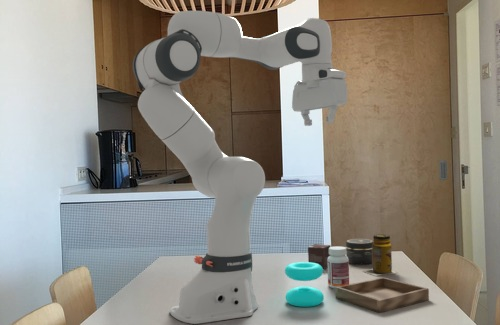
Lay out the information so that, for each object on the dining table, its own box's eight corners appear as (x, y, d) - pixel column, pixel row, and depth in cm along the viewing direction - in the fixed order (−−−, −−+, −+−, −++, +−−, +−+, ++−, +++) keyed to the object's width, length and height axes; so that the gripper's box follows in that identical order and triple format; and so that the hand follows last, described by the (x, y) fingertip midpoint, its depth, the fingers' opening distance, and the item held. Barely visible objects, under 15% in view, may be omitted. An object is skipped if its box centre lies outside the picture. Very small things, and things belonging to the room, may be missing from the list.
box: (331, 266, 181) (331, 245, 181) (324, 269, 176) (324, 248, 176) (315, 264, 184) (315, 243, 184) (308, 268, 179) (307, 246, 179)
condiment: (397, 273, 169) (396, 235, 168) (376, 276, 165) (375, 238, 165) (383, 268, 175) (382, 232, 175) (362, 271, 172) (361, 235, 172)
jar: (363, 258, 193) (363, 237, 193) (381, 263, 184) (380, 241, 183) (340, 261, 189) (340, 240, 189) (357, 266, 180) (356, 244, 179)
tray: (379, 312, 128) (379, 300, 128) (335, 298, 142) (335, 287, 142) (428, 300, 138) (428, 288, 138) (383, 287, 152) (383, 277, 151)
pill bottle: (353, 286, 154) (352, 248, 153) (338, 290, 150) (337, 250, 150) (339, 282, 159) (338, 245, 158) (323, 285, 155) (322, 247, 155)
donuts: (301, 271, 132) (277, 264, 140) (302, 310, 132) (278, 301, 140) (330, 265, 137) (306, 259, 146) (331, 303, 138) (307, 295, 146)
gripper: (286, 81, 159) (287, 127, 159) (333, 69, 142) (335, 120, 142) (302, 82, 162) (303, 127, 162) (350, 71, 145) (352, 121, 145)
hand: (318, 124), depth 152 cm, fingers open, 8 cm apart
